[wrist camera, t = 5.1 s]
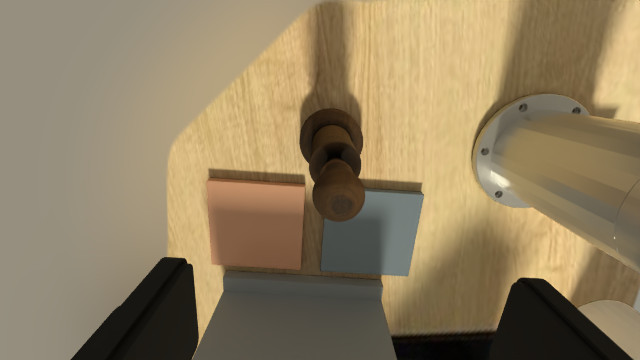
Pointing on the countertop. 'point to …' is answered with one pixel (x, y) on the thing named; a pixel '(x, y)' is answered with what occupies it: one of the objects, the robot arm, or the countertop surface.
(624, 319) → the bottle
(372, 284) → the upright grey panel
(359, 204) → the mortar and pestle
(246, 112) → the countertop surface
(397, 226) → the mat bluegrey
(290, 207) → the tile terracotta
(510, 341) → the robot arm
